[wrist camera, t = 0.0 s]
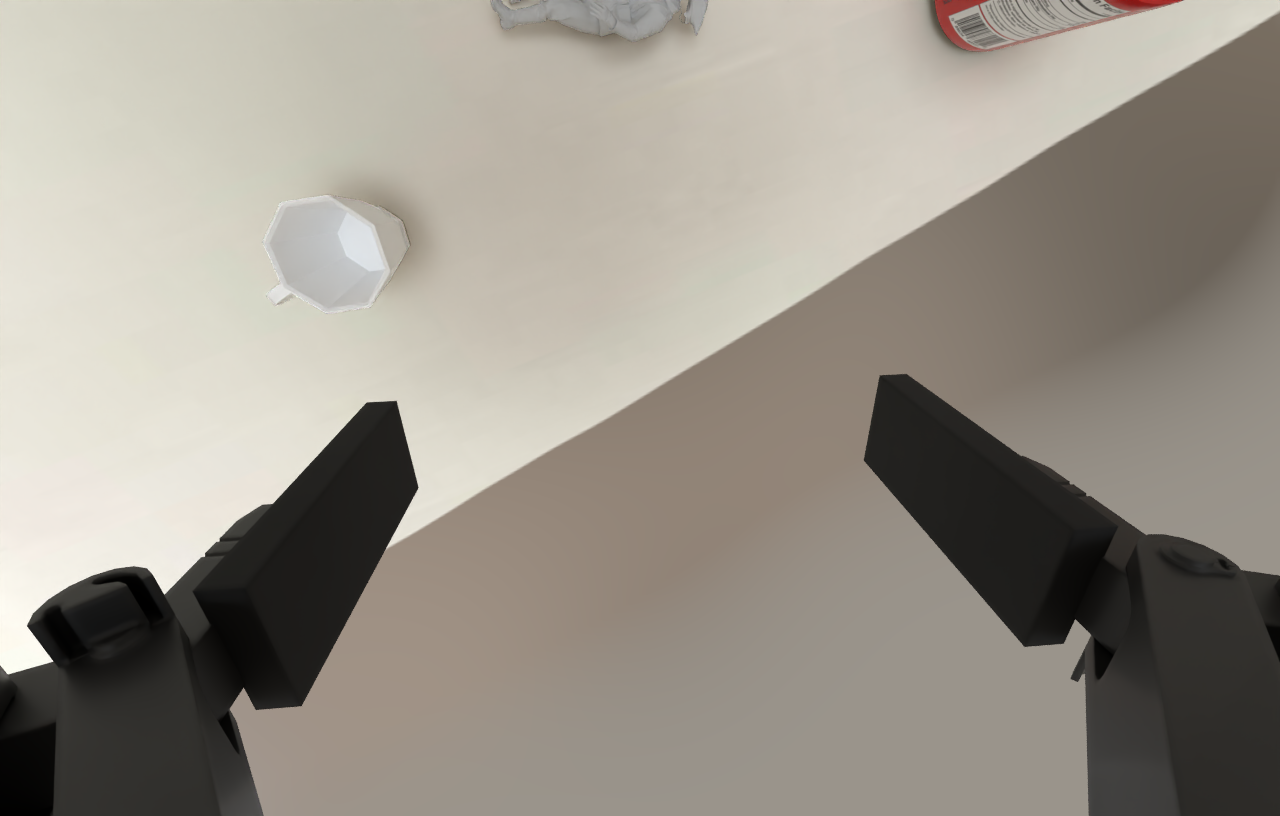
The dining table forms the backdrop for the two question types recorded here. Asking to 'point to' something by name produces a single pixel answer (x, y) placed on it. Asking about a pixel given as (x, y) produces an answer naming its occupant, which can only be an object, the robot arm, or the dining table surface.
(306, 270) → the cup
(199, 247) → the dining table surface
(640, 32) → the soldier figure
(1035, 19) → the soda can
